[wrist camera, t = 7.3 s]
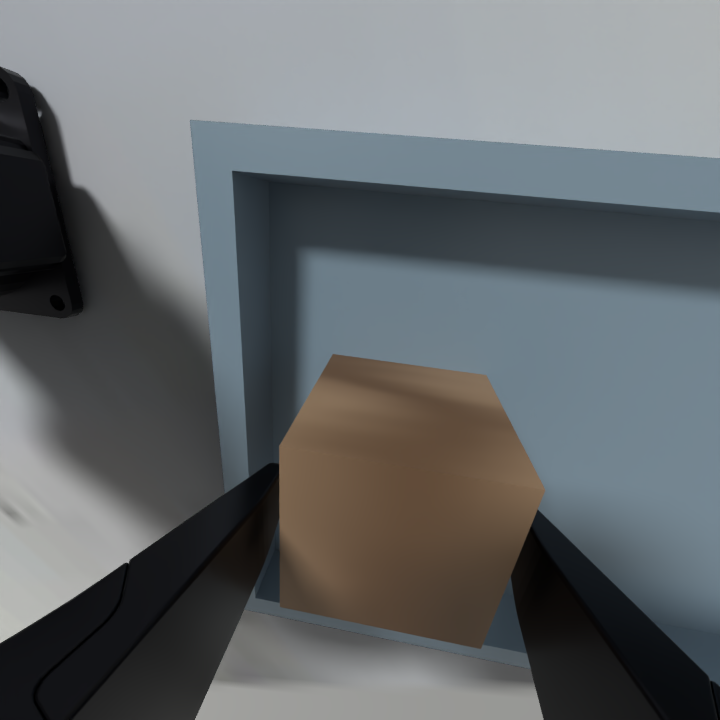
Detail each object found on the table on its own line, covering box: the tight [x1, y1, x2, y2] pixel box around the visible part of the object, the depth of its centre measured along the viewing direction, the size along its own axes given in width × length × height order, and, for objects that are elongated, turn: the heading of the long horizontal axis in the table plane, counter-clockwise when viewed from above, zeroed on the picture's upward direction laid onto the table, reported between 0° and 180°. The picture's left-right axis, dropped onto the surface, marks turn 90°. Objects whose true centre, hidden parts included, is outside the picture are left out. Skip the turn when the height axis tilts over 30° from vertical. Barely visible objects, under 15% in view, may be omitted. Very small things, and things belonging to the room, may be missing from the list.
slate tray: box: [190, 120, 720, 686], centre depth 10 cm, size 20×15×2 cm
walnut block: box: [279, 354, 545, 649], centre depth 9 cm, size 4×4×4 cm
